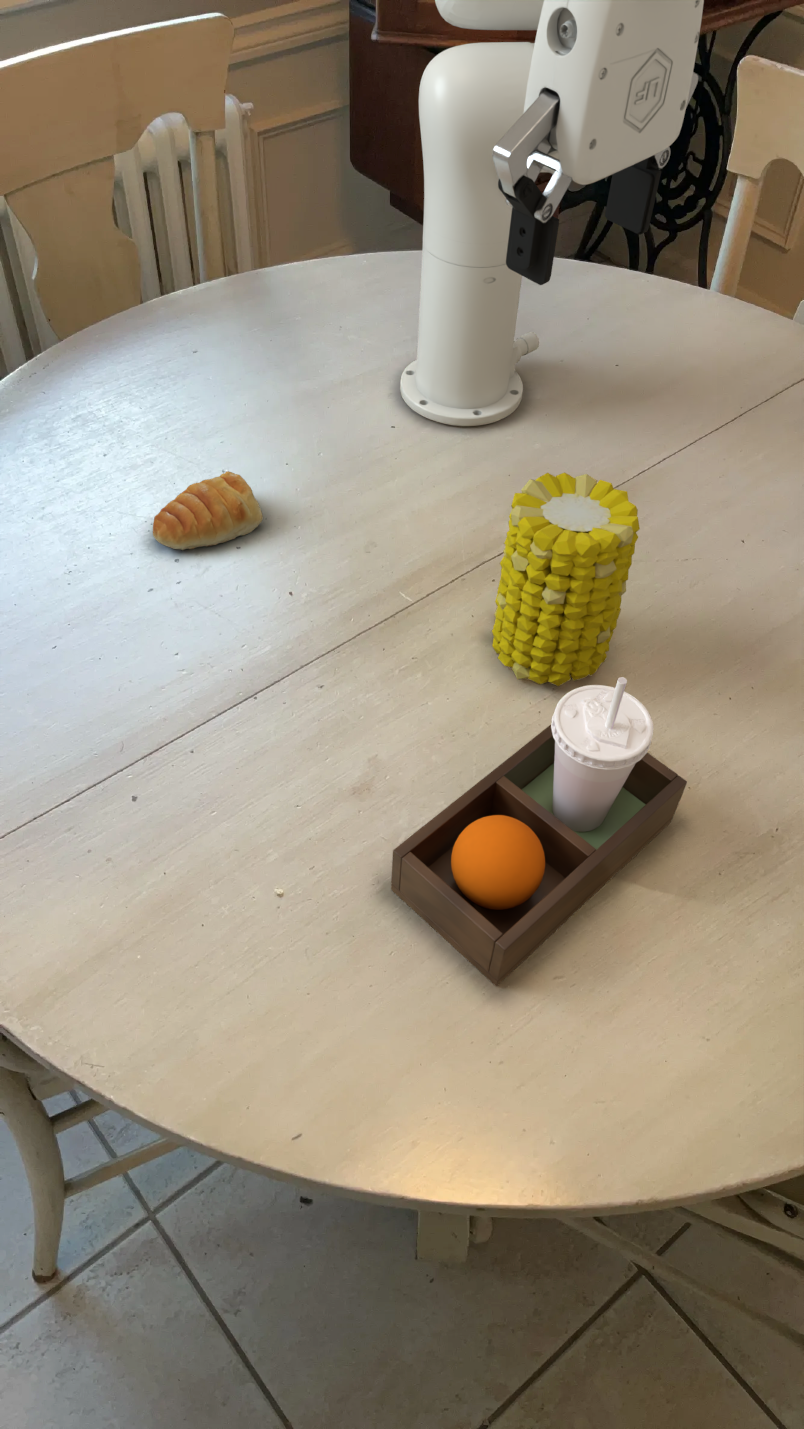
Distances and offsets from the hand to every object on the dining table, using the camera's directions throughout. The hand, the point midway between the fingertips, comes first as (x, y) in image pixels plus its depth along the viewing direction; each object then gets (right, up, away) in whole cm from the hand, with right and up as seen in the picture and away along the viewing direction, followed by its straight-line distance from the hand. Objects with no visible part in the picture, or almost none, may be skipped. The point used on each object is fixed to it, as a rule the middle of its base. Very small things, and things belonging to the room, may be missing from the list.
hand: (578, 249), depth 67 cm
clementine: (-5, -39, 0) cm, 39 cm away
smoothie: (+1, -36, +7) cm, 37 cm away
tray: (-2, -39, +5) cm, 40 cm away
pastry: (-28, -13, +27) cm, 41 cm away
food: (+1, -24, +19) cm, 30 cm away
